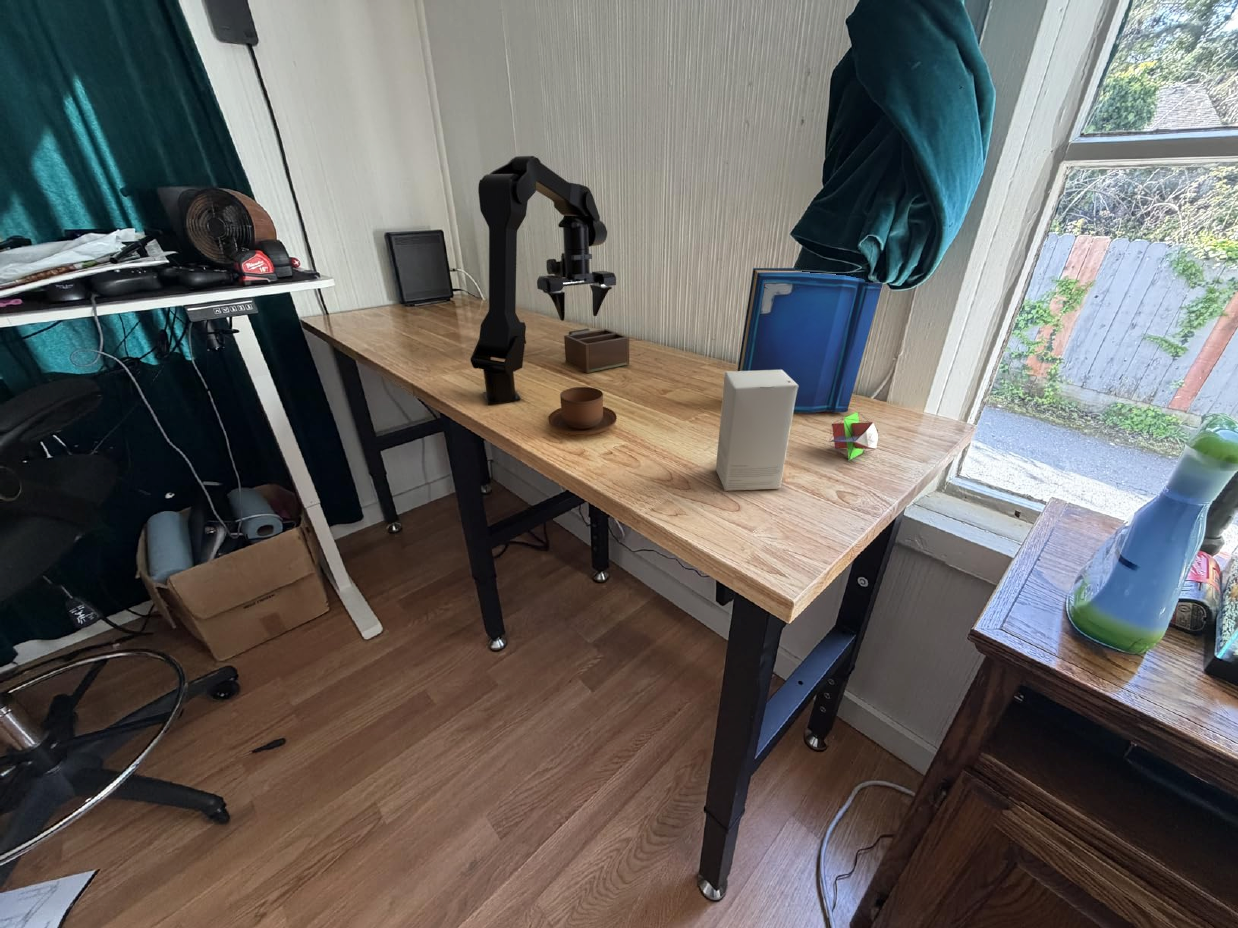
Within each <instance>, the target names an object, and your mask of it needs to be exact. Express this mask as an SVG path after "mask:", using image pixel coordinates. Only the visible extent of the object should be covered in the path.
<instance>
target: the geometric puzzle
mask: <svg viewBox="0 0 1238 928" xmlns="http://www.w3.org/2000/svg"><path fill="white" fill-rule="evenodd" d="M859 415H860V416H862V413H860V412H859V411H858V410H857V411H856V412H854V413H851V414H849V415H847V416H845V417H842V418H841V420H840V419H839V420H838V419H837V420H836V421H834V422H831V423H830V424H831V427H830V428H831V430H832V432H831V431H830V433H829V434H831V433H832V436H830V438H829V440H828V443H834V445H833V448H834V449H835V450H837V451H839V450H840V449H841V450H843V451H847V456H848V457H847V458H848V459H847V461H851V460H853V459H855V458H857V457H858V458H859V456H862V455H864V454H865V453H866V454H867V453H868V454H869V452H873V451H874V450H878V448H877V447H878V442H879V436H880V435H879V433H878V431H879V429H877V428H876V425H875V422H874V421H868V420H869V418H867V417H866V415H863V418H866V421H865V420H864V422H861V420H860V418H859ZM832 438H833V439H832ZM866 450H867V451H866ZM840 454H841V455H842V456H843V457H845V455H844V454H843V453H842V452H840Z"/></svg>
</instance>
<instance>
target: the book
mask: <svg viewBox="0 0 1238 928" xmlns="http://www.w3.org/2000/svg"><path fill="white" fill-rule="evenodd" d="M795 268H796V267H754V268H752V274H751V282H750V287H749V294H748V300H747V307H746V314H745V320H744V326H743V332H742V338H741V344H740V345H741V346H740V352H739V358H738V363H737V364H738V365H737V371H759V370H783V371H784V372H785V373H786V374H787V375H788V376H789V377H790V378H791V379H792V380H793V381H794V382H795V383H796V384H797V385H798V386H799V387H798V390H797V394H796V399H795V405H794V411H793V414H807V415H809V414H810V415H811V414H815V413H821V412H828V413H837V414H839V413H840V414H841V413H846V412H848V410H849V407H850V403H851V400H852V396H853V392H854V389H855V385H856V382H857V378H858V374H859V370H860V367H861V364H862V360H863V357H864V352H865V349H866V345H867V342H868V339H869V336H870V335H869V334H870V331H871V328H872V324H873V320H874V316H875V313H876V309H877V306H878V304H879V299H880V295H881V292H882V288H883V285H884V284H883V282H881V283H869V282H865V280H864V279H862V278H856V277H851V276H846V275H836V274H821V273H810V272H802V271H795Z"/></svg>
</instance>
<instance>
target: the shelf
mask: <svg viewBox="0 0 1238 928" xmlns="http://www.w3.org/2000/svg"><path fill="white" fill-rule="evenodd" d="M630 338H631V337H630V336H628V335H624V334H622V333H619V332H616V331H613V330H610V329H608V328H603V329H597V330H590V329H589V328H582V329H576V330H570V331H569V332H568V334H566V335H565V334H564V335H563V340H564V342H563V343H564V360H565V361H564V362H565V363H567V364H568V365H570V366H572V367H574V368H575V369H578V370H580V371H581V372H583V373H586V374H588V373H594V372H598V371H603V370H609V369H613V368H618V367H622V366H623V367H624V366H627V365H630Z"/></svg>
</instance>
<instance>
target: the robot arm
mask: <svg viewBox="0 0 1238 928" xmlns="http://www.w3.org/2000/svg"><path fill="white" fill-rule="evenodd" d="M477 187H478V188H477V190H478V191H477V192H478V200H479V211H480V213H481V215H482V217H483V219H484V221H485V222H486V225H487V227H488V312H487V313H486V315H485V316H484V318H483V320H482V321H481V323H480V326H479V327H480V328H479V334H478V335H479V336H478V341H477V343H476V345H475V347H474V350H473V352H472V354H471V356H470V359H469V361H470V363H471V366H472V368H473V369H478V370H482V372H483V379H484V386H485V391H483V392H482V393H481V394H482V397H483V398H484V400H485V402H486V404H487V405H488V406H492V405H498V404H499V405H500V404H505V403H511V402H518V401H521V395H520V394H519V393H518V392H517V391H516V385H515V374H514V372H516V371H519V370H521V369H522V368H523V367H524V366H523V365H524V357H525V348H526V344H527V339H526V333H527V332H526V331H527V325H526V323H525V321H524V322H523V321H521V320H520V318H519V317H518V315H517V312H516V311H517V310H516V303H517V302H516V301H517V299H516V298H517V256H518V255H517V252H518V251H517V249H518V247H517V246H518V241H517V240H518V231H519V229H520V227H521V225H522V224H523V222H524V220H525V219H526V217H527V211H528V210H527V209H528V202H529V200H530V199H531V198H532V197H533V196H534V194H535V193H536V192H538V193H539V194H541V195H542V196H544V197H546V198H548V199H549V200H551V201H552V202H553V207H554V209H555V210H556V211H557V212H558V213H560V215H562V216H563V217H562V219H561V220H560V221H559V223H558V225H557V226H558V228H562V234H563V235H562V237H563V252H562V253H561V255H560V260H558V261H557V259H556V258H548V259H547V260H546V271H547V275H539V276H538V278H537V280H536V287H537V288H536V289H537V290H540V291H542V292H543V293H544V294H547V295H548V296H549V297H550V299H551V301H552V303H553V305H554V307H555V310H556V312H557V314H558V318H559V320H560V321H562V322H564V321H565V315H566V298H565V297H566V292H565V291H562V290H563V289H564V287H572V286H580V285H581V286H582V285H589V288H590V290H591V294H592V295H591V296H592V297H591V298H592V301H591V303H592V304H591V305H592V307H591V308H592V316H593V317H597V316H598V314H599V311H600V310H601V306H602V304H603V302H604V300H605V298H606V297H607V294H608V292H609V291H610V290H612V289H613V287H614V286H616V285H617V276H616V273H614V272H611V271H607V270H597V271H595V270H594V271H591V272H590V260H592V259H593V254H592V253H590V249H589V248H591V247H596V246H601V245H603V244H604V243H605V242H606V240H607V237H608V229H607V227H606V225H605V223H604V222H603V221H602V220H601V216H600V213H599V210H598V207H597V204H596V201H595V198H594V196H593V194H592V191H591V189H590V188H589V187H588V186H586V185H583V184H581V183H575V182H570V181H567V180H566V179H564V178H563V177H562V176H560V175H559V174H558V173H556V172H555V171H553V170H552V169H550V168H549V167H548V166H547V165H545V164H543V163H542V162H541V160H540V159H539V157H537V156H534V155H516V156H514V157H513V158H511V159H510V160H509V161H508V162H507V163H506V164H504V165H502V166H500V167H498V168H496V169H494V170H492V171H491V172H490V173H488V174H485V175H483V177H482V178H481V179H479V182H478V186H477ZM612 286H613V287H612ZM492 358H496V359H501V360H502V361H501V360H496V359H492ZM503 360H504V361H503Z"/></svg>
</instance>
